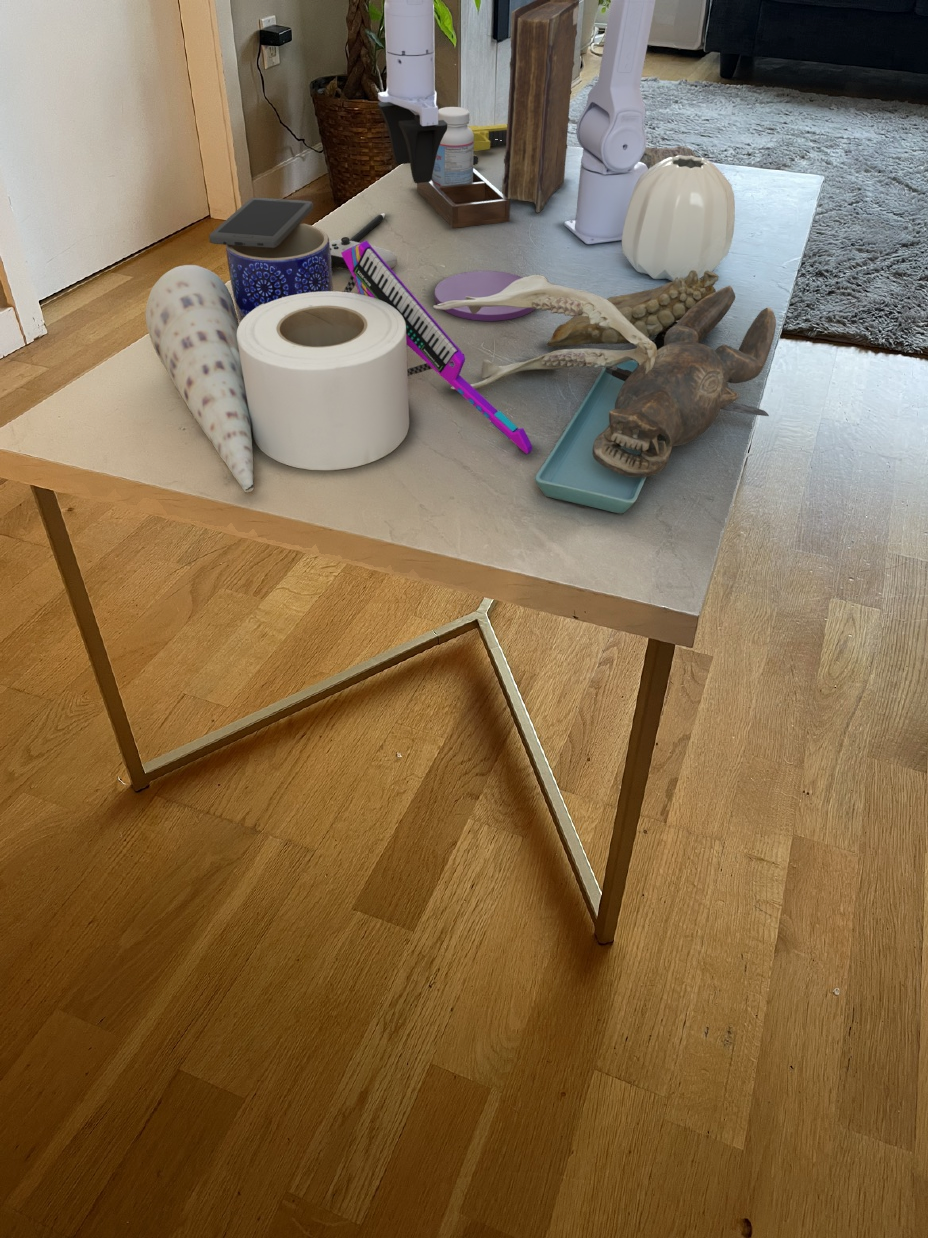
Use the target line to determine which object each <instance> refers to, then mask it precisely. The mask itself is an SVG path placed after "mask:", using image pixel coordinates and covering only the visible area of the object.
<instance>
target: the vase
mask: <svg viewBox="0 0 928 1238" xmlns="http://www.w3.org/2000/svg"><path fill="white" fill-rule="evenodd" d="M735 202H736V201H735V194H734V190H733V186H732V184H731V182H730V181H729V180H728V179H727V178H726V176H725V174H723V173H722V171H720V169H719V168H718V167H717V166H716V165H715V164H713V162H711V161H709V160H706V159H705V158H703V157H697V156H696V157H694V156H682V155H680V156H676V157H669V158H667V159H665V160H663V161H661V162H659V163H657V164H656V165H654V166H653V167H651V168H650V169H648V170H647V171H646V172H644V173H643V174H642V175H641V176H640V178H639V179H638V181H637V183H636V185H635V187H634V190H633V192H632V195H631V198H630V202H629V205H628V209H627V213H626V217H625V223H624V229H623V236H622V240H621V251H622V253H623V255H624V256H625V257H626V259H627V261H629V263H630V264H631V266H632V267H633V269H634V270H635V271H636V272H637V273H641V274H645V275H649V276H650V277H651V278H652V279H653V280H668V281H670V282H673V281H674V280H675V278H677V277H678V279H679V278H683V279H685V278H686V277H687V276H688V274H689V272H690V271H691V270H694V271H696V272H697V275H698V279H702V277H703V276H704V272H705V271H709V272H712V273H713V272H714V271H715V270H716V269H717V268H718V267H719V266H720V265H721V263H722V261H723V260H724V259H725V258H726V257H727V256H728V254H729V252H730V249H731V246H732V244H733V243H732V242H733V237H734V232H735V220H736V219H735V218H736V204H735Z"/></svg>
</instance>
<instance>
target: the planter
mask: <svg viewBox="0 0 928 1238" xmlns="http://www.w3.org/2000/svg"><path fill="white" fill-rule="evenodd" d="M329 242H330V238H329V236H328V234H327V233H326V232H325V231H324V230H322V229H320V228H318V227H316V226H314V225H311V224H307V223H302V222H301V223H300V224H299V225H298V226H297V227H296V228H295V229H294V230H293V231H292V232H291V233H290V234H289V235H288V236H287V237H286V238H285V239H284V240H283V241H282V242H281V243H280V245H279V246H277V247H276V248H262V247H249V246H236V245H225V250H226V259H227V266H228V273H229V279H230V284H231V291H232V296H233V297H232V298H233V303H234V307H235V311H236V315H237V319H238V322H239V323H240V322H241V321H242V319H243V318H244V317H245V316H246V315H247V314H248V313H250V312H251V311H252V310H253V309H255V308H256V307H258V306H259V305H261V304H266V303H268V302H271V301H274V300H277V299H279V298H283V297H287V296H291V295H296V294H302V293H309V292H323V291H334V281H333V279H334V278H333V269H332V263H331V252H330V243H329Z"/></svg>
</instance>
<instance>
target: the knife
mask: <svg viewBox="0 0 928 1238" xmlns="http://www.w3.org/2000/svg"><path fill="white" fill-rule="evenodd" d="M605 371H606V372H607V373H609V374H610V375H612V376H614V377H616V378H618V379H620V380H623V381H626V380H627V378H628V377H629V376H630V374H631V373H632V372H631V371H629V370H623V369H621V368H618V367H616V366H612V367H606V369H605ZM720 410H723V411H729V412H735V413H739V414H747V415H755V416H762V417H770V415H769V413H768V412H767V411H766V410H764V409H760V408H757V407H753V406H750V405H746V404H743V403H738V402H735V401H734V402H733V403H731V404H729V405H727V406H725V407H722V408H720Z"/></svg>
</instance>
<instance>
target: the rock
mask: <svg viewBox="0 0 928 1238" xmlns="http://www.w3.org/2000/svg"><path fill="white" fill-rule="evenodd" d="M680 155H682V156H694V157H697V156H696V153H695V151H693V150H692V148H690V147H687V146H684V145H678V146H675V147H664V148H660V147H647V146H646V148H645V151H644V154H643V156H642V158H641V159H640V161H639V162H642V163H644V164H645V165H646V166H647V168H648V169H650V168H651V167H653V166H654V165H656V164H657V163H659V162H661V161H663V160H665V159H667V158H669V157H676V156H680Z"/></svg>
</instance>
